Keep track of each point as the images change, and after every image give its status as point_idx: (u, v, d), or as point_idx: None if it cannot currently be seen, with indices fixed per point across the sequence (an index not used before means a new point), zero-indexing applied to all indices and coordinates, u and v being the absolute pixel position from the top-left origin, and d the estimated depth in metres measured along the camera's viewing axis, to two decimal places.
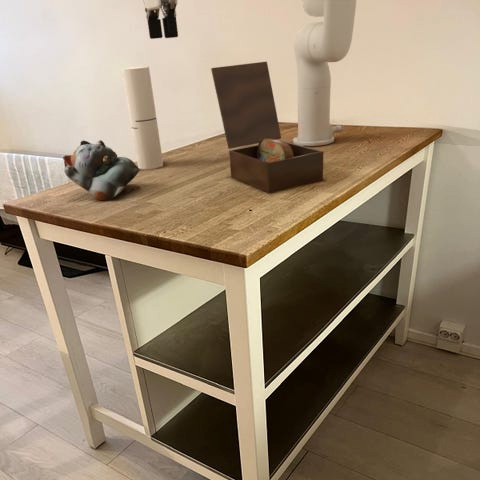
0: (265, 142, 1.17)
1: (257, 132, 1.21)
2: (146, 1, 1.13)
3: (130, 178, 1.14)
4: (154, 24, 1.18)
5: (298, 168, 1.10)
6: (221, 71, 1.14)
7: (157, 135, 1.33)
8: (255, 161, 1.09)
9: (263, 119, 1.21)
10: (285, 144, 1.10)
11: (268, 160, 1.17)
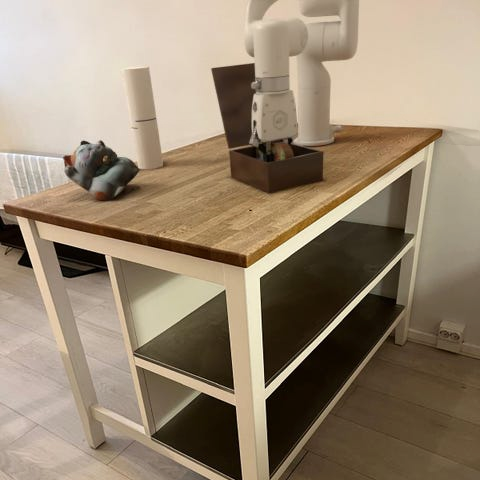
0: None
1: None
2: None
3: (130, 178, 1.14)
4: None
5: (298, 168, 1.10)
6: (221, 71, 1.14)
7: (157, 135, 1.33)
8: (255, 161, 1.09)
9: None
10: (284, 144, 1.10)
11: None
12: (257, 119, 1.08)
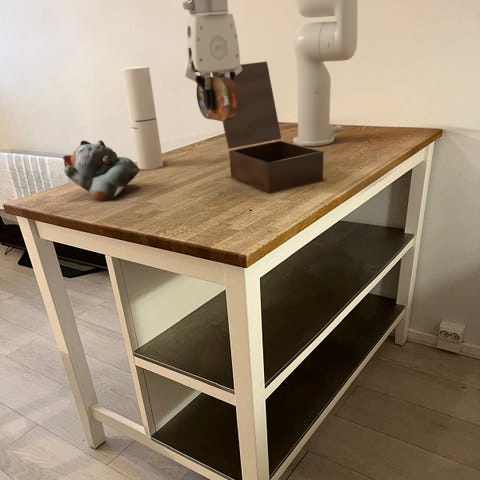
0: None
1: (257, 132, 1.21)
2: None
3: (130, 178, 1.14)
4: None
5: (298, 168, 1.10)
6: None
7: (157, 135, 1.33)
8: (255, 161, 1.09)
9: (263, 119, 1.21)
10: (226, 78, 0.98)
11: None
12: (192, 46, 0.95)
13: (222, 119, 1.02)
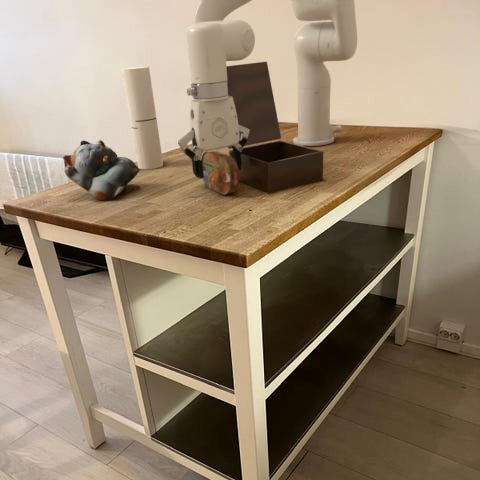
0: (208, 155, 1.12)
1: (257, 132, 1.21)
2: None
3: (130, 178, 1.14)
4: (233, 156, 1.11)
5: (298, 168, 1.10)
6: None
7: (157, 135, 1.33)
8: (255, 161, 1.09)
9: (263, 119, 1.21)
10: (229, 157, 1.06)
11: (212, 174, 1.13)
12: (195, 127, 1.03)
13: (223, 193, 1.09)
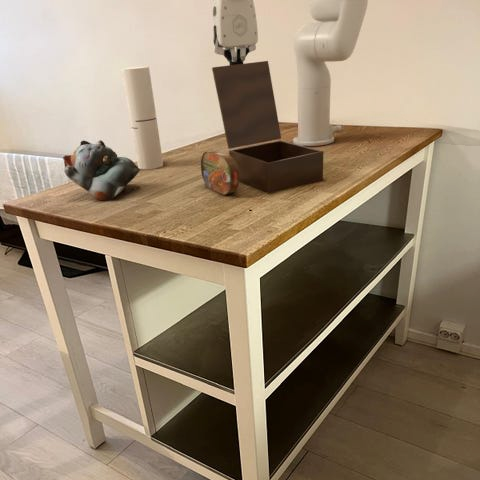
0: (208, 155, 1.12)
1: (257, 132, 1.21)
2: None
3: (130, 178, 1.14)
4: None
5: (298, 168, 1.10)
6: (222, 70, 1.14)
7: (157, 135, 1.33)
8: (255, 161, 1.09)
9: (263, 119, 1.21)
10: (229, 157, 1.06)
11: (212, 174, 1.13)
12: (217, 23, 1.10)
13: (223, 193, 1.09)
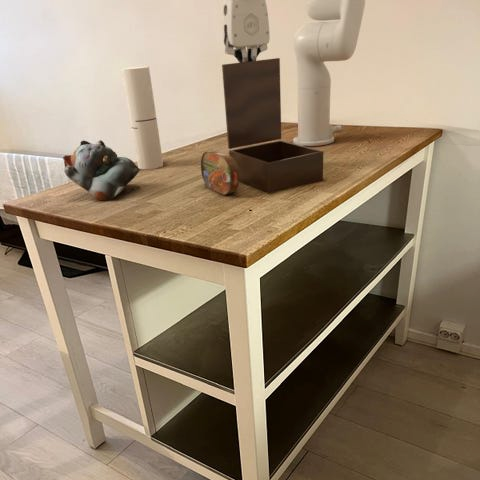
0: (208, 155, 1.12)
1: (259, 132, 1.20)
2: None
3: (130, 178, 1.14)
4: None
5: (298, 168, 1.10)
6: (232, 68, 1.10)
7: (157, 135, 1.33)
8: (255, 161, 1.09)
9: (266, 119, 1.20)
10: (229, 157, 1.06)
11: (212, 174, 1.13)
12: (227, 22, 1.06)
13: (223, 193, 1.09)
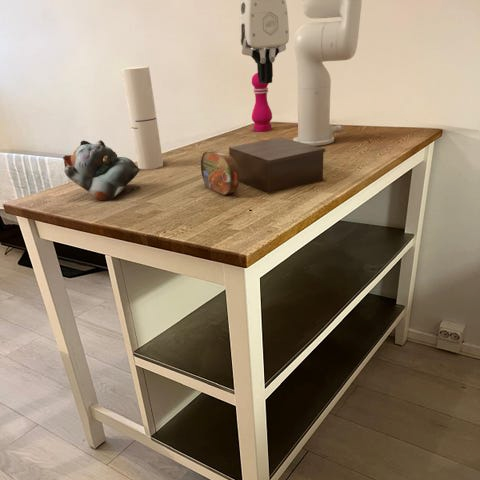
0: (208, 155, 1.12)
1: None
2: None
3: (130, 178, 1.14)
4: None
5: (298, 168, 1.10)
6: None
7: (157, 135, 1.33)
8: (255, 161, 1.09)
9: None
10: (229, 157, 1.06)
11: (212, 174, 1.13)
12: (245, 21, 1.00)
13: (223, 193, 1.09)
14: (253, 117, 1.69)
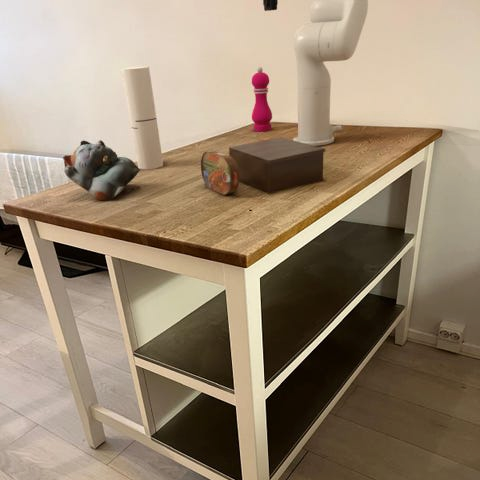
0: (208, 155, 1.12)
1: None
2: None
3: (130, 178, 1.14)
4: None
5: (298, 168, 1.10)
6: None
7: (157, 135, 1.33)
8: (255, 161, 1.09)
9: None
10: (229, 157, 1.06)
11: (212, 174, 1.13)
12: None
13: (223, 193, 1.09)
14: (253, 117, 1.69)
